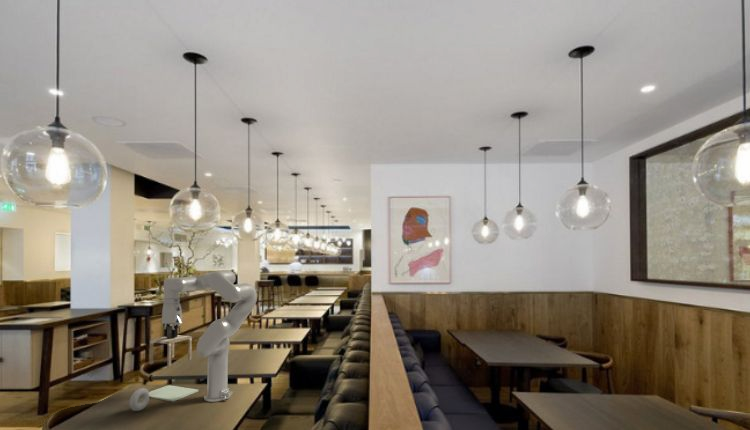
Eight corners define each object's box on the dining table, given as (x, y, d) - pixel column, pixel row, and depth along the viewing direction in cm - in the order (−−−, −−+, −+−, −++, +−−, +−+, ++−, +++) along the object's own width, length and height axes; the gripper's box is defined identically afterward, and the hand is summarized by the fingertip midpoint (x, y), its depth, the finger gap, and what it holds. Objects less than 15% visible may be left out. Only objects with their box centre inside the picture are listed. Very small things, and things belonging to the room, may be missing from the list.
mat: (198, 391, 222) (198, 389, 222) (172, 401, 208) (172, 399, 208) (168, 386, 231) (168, 385, 231) (141, 396, 217) (141, 394, 217)
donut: (133, 415, 192) (133, 392, 192) (127, 414, 193) (127, 391, 193) (151, 407, 201) (151, 385, 202) (145, 406, 202) (145, 384, 203)
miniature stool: (191, 359, 224) (191, 324, 225) (169, 366, 211) (169, 329, 213) (172, 357, 230) (172, 323, 231) (149, 363, 217) (150, 328, 218)
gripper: (189, 300, 223) (188, 336, 222) (166, 300, 230) (166, 334, 228) (177, 302, 216) (176, 339, 215) (154, 301, 223) (153, 337, 222)
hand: (171, 336), depth 222 cm, fingers closed on miniature stool, 4 cm apart
